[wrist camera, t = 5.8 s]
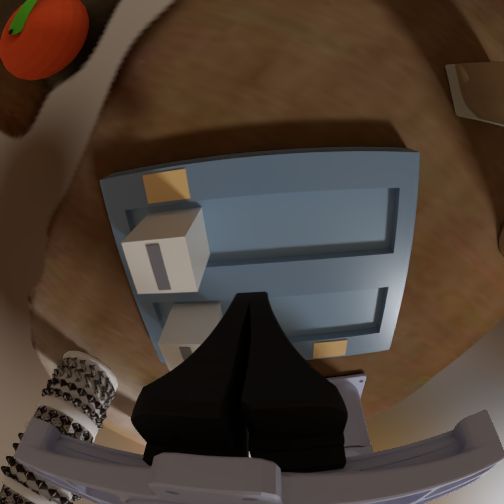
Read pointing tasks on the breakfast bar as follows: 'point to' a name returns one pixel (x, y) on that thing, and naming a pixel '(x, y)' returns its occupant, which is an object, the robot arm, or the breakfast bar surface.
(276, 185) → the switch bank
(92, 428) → the decorative candle
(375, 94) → the breakfast bar surface
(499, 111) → the skincare box
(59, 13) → the clementine
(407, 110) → the breakfast bar surface
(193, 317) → the white block
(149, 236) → the white striped block
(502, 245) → the beer glass
